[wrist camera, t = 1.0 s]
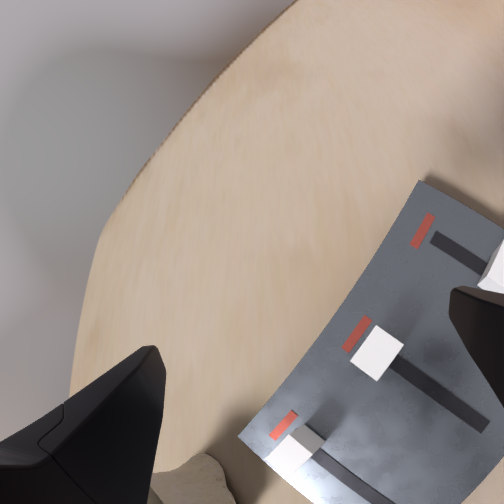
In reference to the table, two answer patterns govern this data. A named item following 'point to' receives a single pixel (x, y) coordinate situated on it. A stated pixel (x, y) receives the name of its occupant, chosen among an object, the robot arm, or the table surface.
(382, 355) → the handle mid
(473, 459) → the panel
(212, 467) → the faceted grey rock
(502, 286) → the handle
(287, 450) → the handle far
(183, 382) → the table surface
